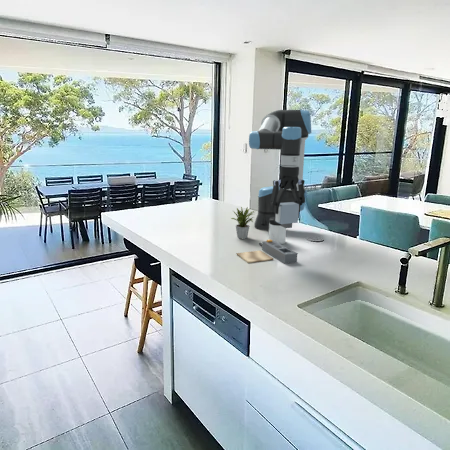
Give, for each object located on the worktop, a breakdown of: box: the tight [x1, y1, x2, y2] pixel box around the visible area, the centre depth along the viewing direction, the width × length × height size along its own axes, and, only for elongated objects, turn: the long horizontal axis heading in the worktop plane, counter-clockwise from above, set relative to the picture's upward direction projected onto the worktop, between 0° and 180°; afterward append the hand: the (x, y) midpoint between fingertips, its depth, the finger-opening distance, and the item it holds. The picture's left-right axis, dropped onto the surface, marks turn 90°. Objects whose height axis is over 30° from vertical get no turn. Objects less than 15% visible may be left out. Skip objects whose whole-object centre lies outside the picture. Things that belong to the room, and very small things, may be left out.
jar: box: [268, 217, 287, 245], centre depth 185 cm, size 9×8×12 cm
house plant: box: [230, 206, 256, 240], centre depth 191 cm, size 14×14×16 cm
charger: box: [276, 202, 299, 229], centre depth 157 cm, size 4×8×10 cm, turn 112°
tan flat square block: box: [235, 250, 274, 264], centre depth 164 cm, size 12×12×1 cm
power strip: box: [258, 239, 298, 265], centre depth 169 cm, size 28×6×5 cm, turn 22°
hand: (286, 220), depth 158 cm, fingers closed on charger, 8 cm apart
